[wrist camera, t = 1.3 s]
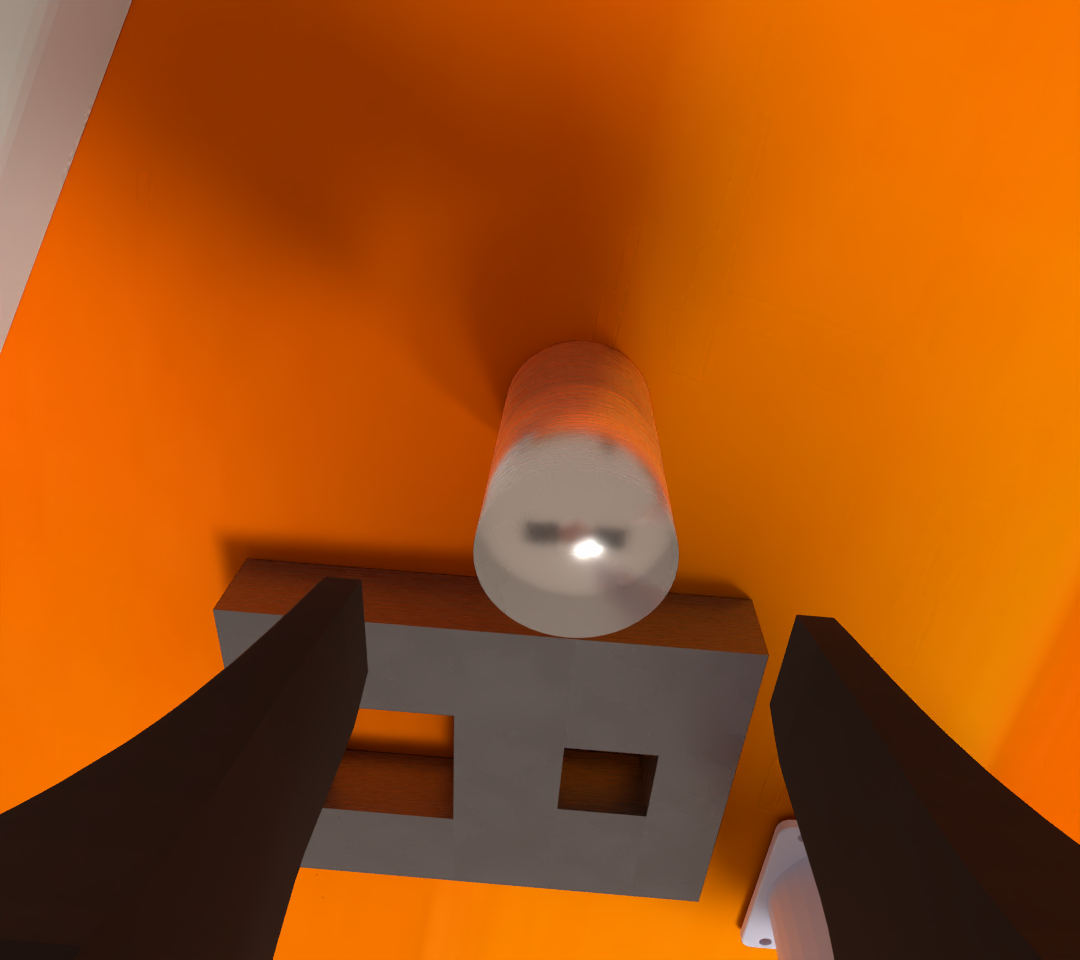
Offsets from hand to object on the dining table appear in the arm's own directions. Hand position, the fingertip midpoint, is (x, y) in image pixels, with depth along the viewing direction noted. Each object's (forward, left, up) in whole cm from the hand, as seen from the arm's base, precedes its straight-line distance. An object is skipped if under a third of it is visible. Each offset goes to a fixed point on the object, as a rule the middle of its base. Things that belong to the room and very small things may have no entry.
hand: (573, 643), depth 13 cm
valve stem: (0, 0, -9) cm, 9 cm away
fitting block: (+2, +12, -9) cm, 15 cm away
